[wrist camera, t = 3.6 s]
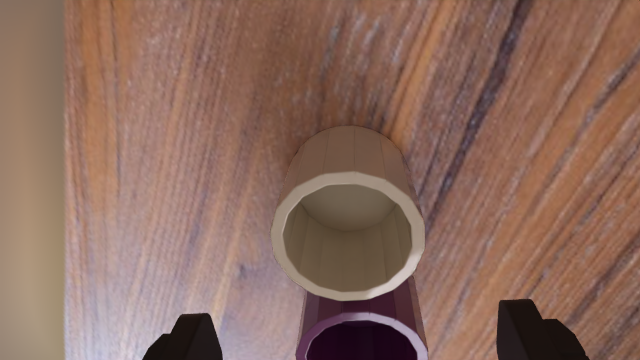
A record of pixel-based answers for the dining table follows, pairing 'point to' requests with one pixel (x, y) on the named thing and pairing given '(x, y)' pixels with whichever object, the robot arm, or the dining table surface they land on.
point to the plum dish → (363, 327)
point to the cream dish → (348, 216)
